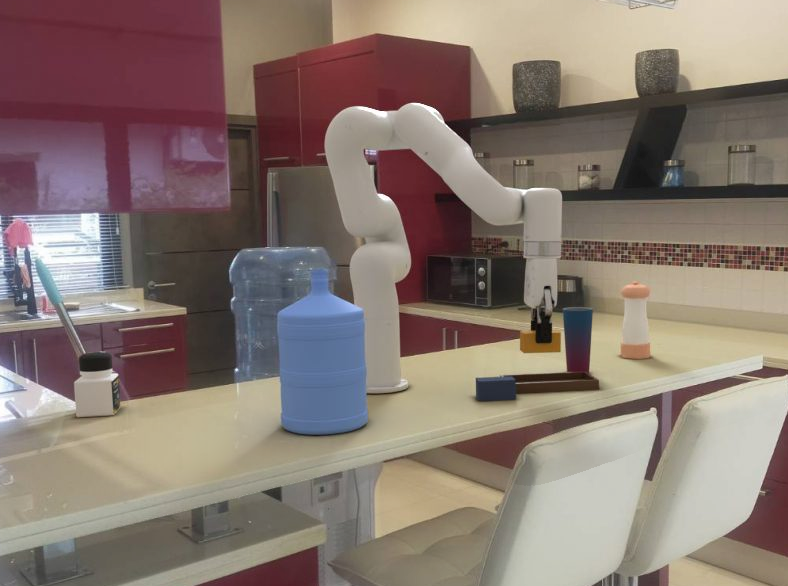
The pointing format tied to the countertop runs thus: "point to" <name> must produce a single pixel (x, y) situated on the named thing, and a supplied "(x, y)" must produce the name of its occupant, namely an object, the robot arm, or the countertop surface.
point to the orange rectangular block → (531, 346)
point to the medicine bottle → (96, 386)
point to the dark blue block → (495, 388)
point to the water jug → (322, 363)
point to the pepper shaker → (635, 322)
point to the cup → (577, 337)
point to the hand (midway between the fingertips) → (541, 340)
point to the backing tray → (554, 382)
